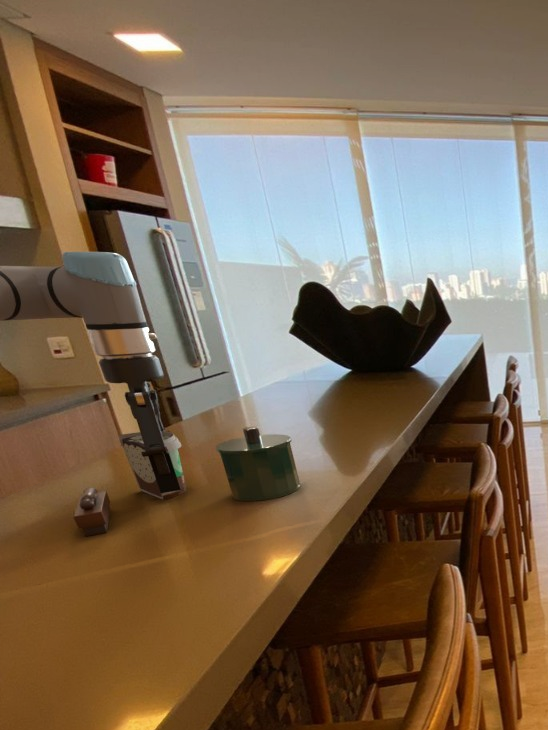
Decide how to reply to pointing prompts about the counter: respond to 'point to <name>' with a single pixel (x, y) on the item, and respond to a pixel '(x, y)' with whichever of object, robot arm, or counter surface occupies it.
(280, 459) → the pot
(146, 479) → the food container
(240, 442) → the pot lid
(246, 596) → the counter surface
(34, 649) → the counter surface
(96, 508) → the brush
